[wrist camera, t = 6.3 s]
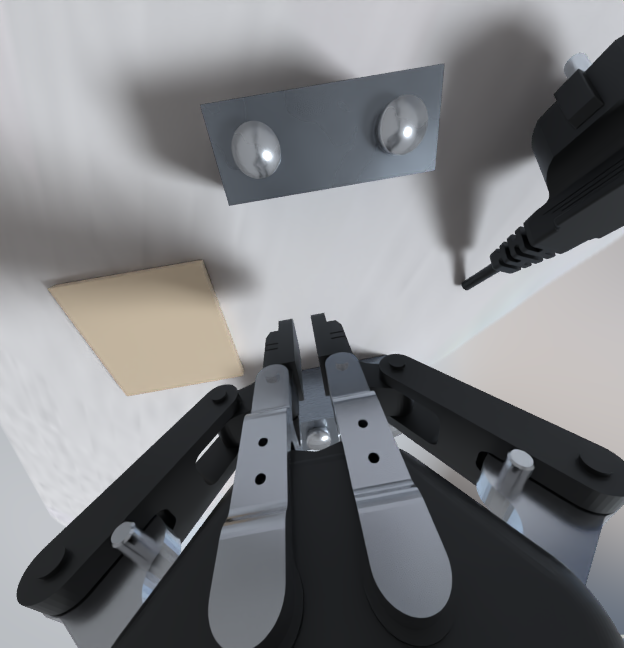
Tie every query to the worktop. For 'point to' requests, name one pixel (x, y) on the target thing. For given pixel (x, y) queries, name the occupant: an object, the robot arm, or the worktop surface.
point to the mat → (153, 326)
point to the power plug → (574, 166)
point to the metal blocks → (326, 161)
